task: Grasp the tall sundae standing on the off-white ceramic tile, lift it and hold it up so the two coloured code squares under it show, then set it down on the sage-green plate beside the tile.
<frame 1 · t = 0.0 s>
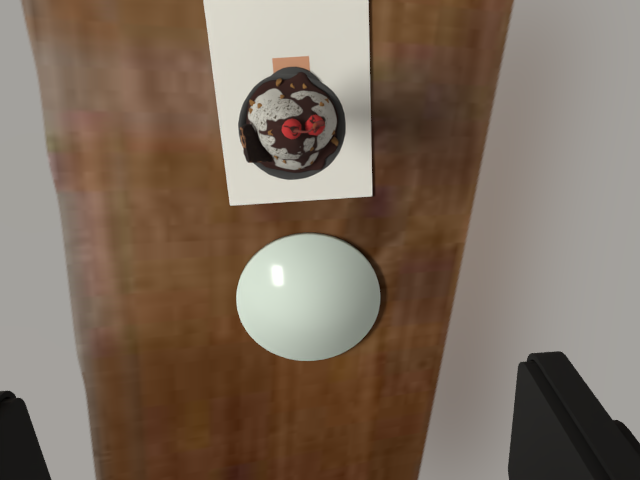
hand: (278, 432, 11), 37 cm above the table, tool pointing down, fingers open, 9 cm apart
code tile: (293, 98, 44), on the table
plate: (308, 297, 52), on the table
sundae: (293, 98, 44), resting on code tile
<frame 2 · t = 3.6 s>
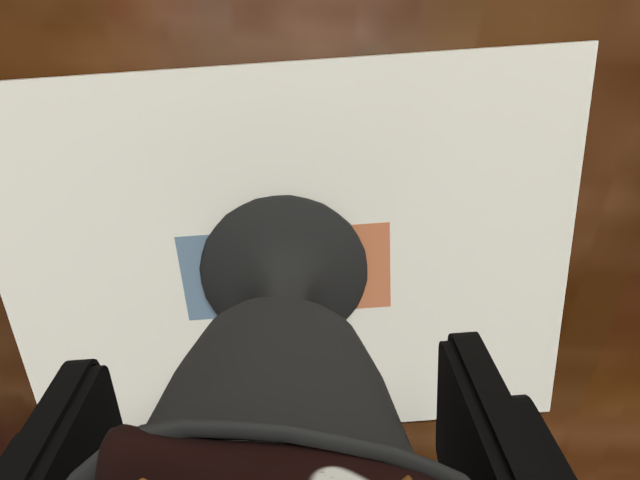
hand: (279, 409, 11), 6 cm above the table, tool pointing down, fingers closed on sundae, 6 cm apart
code tile: (286, 269, 17), on the table
sundae: (286, 270, 17), resting on code tile, touching gripper
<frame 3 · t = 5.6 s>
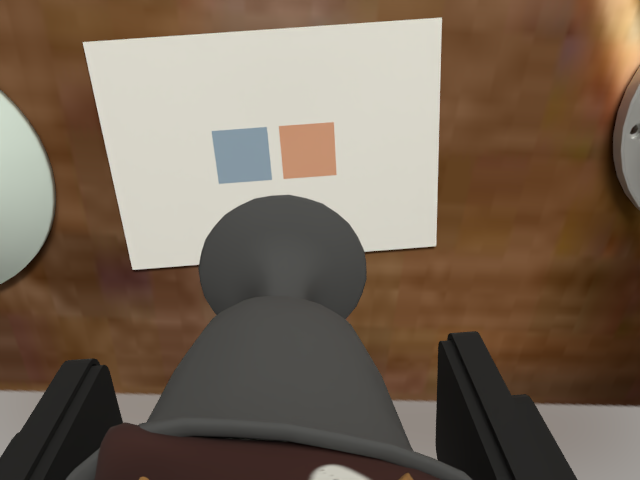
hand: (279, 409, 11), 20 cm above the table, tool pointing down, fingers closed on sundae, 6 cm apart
code tile: (275, 152, 29), on the table
sundae: (285, 269, 17), point 14 cm above the table, touching gripper
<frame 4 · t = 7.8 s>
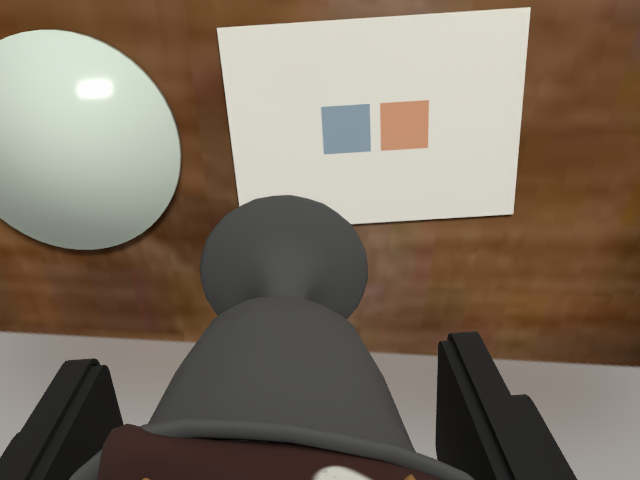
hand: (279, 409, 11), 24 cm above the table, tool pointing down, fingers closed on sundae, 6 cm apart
code tile: (375, 126, 33), on the table
plate: (71, 146, 34), on the table
sundae: (286, 270, 17), point 18 cm above the table, touching gripper
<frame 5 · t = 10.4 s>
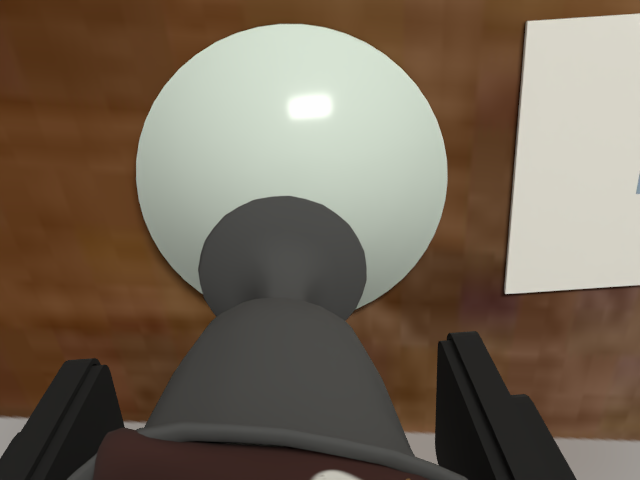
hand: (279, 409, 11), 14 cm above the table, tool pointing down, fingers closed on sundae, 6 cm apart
plate: (293, 185, 24), on the table
sundae: (285, 270, 17), point 8 cm above the table, touching gripper
when the fingers open (8 cm above the table, at t = 12.4 s): sundae drops 2 cm, resting on plate.
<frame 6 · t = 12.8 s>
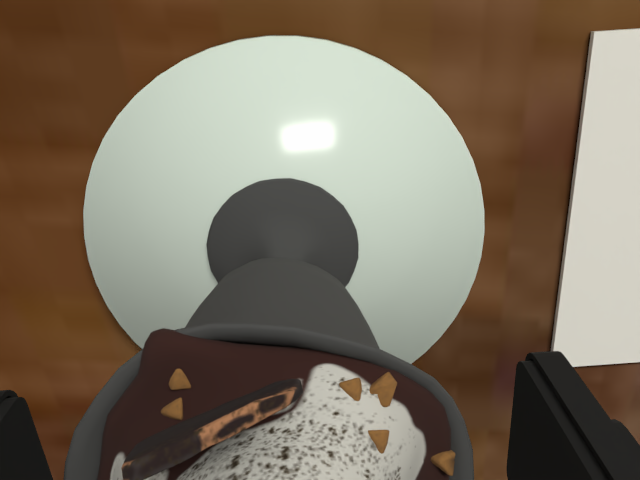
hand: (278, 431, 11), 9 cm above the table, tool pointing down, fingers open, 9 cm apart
plate: (287, 239, 19), on the table
sundae: (285, 247, 19), resting on plate
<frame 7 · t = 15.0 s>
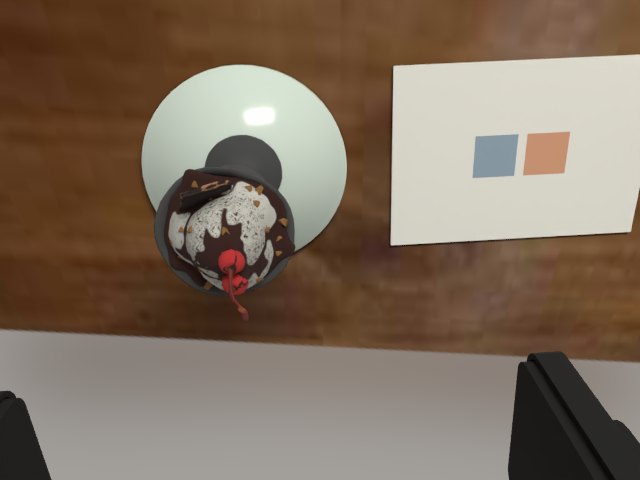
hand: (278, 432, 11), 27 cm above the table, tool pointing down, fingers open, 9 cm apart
code tile: (519, 154, 37), on the table
plate: (246, 168, 37), on the table
sundae: (244, 172, 36), resting on plate
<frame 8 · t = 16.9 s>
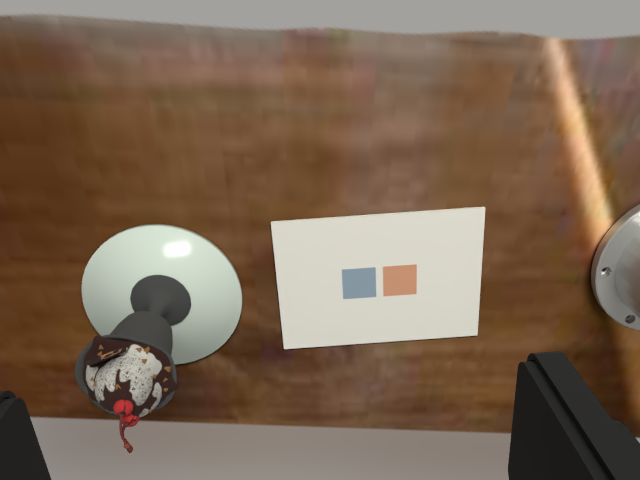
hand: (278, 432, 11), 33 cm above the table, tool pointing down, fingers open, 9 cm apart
code tile: (379, 280, 47), on the table
plate: (164, 295, 47), on the table
sundae: (162, 299, 47), resting on plate
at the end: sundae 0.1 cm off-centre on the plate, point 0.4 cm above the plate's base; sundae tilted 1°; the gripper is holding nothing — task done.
